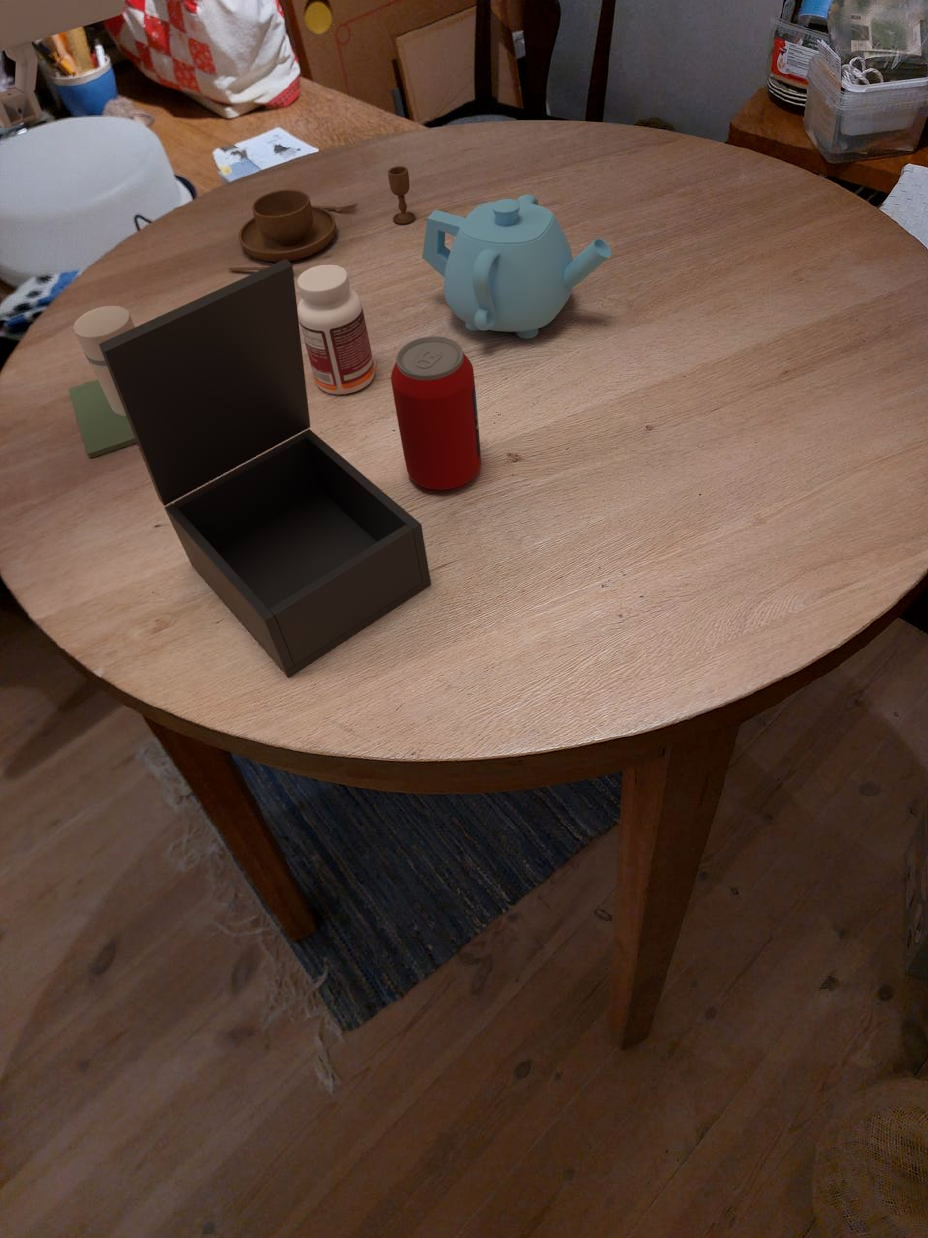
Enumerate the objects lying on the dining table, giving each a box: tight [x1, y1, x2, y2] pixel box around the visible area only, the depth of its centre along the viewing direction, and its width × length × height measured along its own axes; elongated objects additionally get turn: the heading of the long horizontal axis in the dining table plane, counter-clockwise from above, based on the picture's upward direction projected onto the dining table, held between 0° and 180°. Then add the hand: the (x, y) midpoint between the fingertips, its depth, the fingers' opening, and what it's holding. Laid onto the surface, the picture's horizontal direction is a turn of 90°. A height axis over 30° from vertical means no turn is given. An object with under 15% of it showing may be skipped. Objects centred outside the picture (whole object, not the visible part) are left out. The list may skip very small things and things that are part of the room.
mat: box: [68, 379, 137, 459], centre depth 88 cm, size 12×12×1 cm
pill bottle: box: [297, 264, 376, 395], centre depth 84 cm, size 6×6×11 cm
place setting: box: [227, 165, 417, 272], centre depth 104 cm, size 18×20×6 cm
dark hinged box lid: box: [99, 259, 311, 507], centre depth 63 cm, size 16×14×1 cm
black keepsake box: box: [164, 428, 432, 678], centre depth 69 cm, size 16×14×7 cm
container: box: [73, 305, 136, 416], centre depth 84 cm, size 5×5×9 cm
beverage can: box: [390, 336, 482, 490], centre depth 74 cm, size 7×7×12 cm
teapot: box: [421, 194, 612, 339], centre depth 89 cm, size 20×17×12 cm
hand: (21, 120), depth 63 cm, fingers closed
